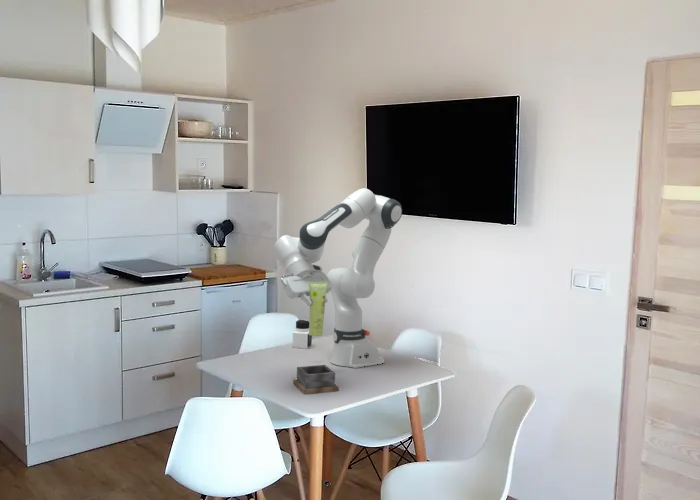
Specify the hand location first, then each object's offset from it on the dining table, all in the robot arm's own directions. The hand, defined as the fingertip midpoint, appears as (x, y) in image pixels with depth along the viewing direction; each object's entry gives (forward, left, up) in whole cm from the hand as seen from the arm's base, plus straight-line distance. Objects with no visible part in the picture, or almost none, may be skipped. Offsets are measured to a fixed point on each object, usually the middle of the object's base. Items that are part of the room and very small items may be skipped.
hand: (318, 303), depth 246 cm
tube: (+1, 0, -12) cm, 12 cm away
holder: (0, 0, -31) cm, 31 cm away
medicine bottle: (-14, -58, -31) cm, 68 cm away
